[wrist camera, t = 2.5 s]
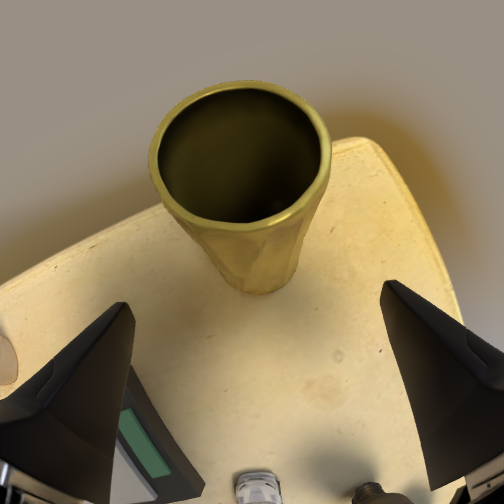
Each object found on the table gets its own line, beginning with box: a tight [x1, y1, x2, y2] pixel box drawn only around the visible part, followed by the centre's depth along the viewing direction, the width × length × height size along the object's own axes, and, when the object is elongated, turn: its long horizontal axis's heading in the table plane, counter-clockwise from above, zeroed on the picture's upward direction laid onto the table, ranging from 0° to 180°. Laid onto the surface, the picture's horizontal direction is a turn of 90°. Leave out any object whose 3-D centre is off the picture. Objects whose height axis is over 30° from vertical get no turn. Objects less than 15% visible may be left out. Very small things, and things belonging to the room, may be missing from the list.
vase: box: [148, 80, 332, 295], centre depth 14 cm, size 6×6×14 cm
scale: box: [84, 365, 206, 504], centre depth 17 cm, size 12×14×3 cm
